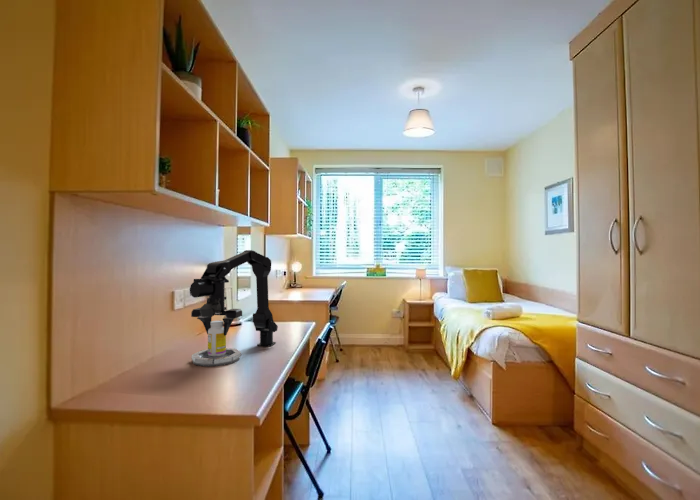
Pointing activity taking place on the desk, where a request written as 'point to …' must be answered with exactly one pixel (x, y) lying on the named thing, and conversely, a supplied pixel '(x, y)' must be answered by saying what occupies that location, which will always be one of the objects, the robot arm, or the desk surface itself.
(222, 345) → the supplement bottle
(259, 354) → the desk surface
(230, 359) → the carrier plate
